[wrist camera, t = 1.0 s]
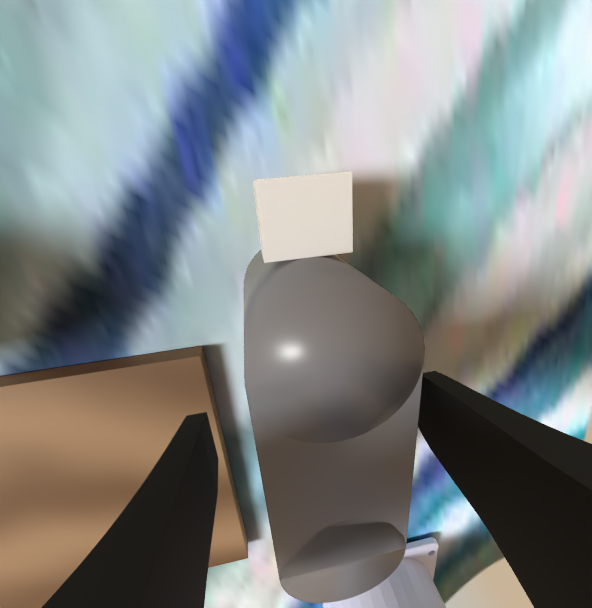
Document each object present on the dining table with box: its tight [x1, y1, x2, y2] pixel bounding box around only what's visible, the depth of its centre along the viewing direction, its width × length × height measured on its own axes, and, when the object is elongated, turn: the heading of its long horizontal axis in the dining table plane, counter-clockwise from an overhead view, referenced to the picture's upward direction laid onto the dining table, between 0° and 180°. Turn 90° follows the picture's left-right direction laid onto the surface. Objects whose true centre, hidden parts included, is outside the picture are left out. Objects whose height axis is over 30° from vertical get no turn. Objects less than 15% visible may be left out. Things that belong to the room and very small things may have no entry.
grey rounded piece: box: [244, 172, 425, 603], centre depth 10 cm, size 13×4×6 cm, turn 5°
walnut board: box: [0, 346, 248, 608], centre depth 13 cm, size 13×12×1 cm
